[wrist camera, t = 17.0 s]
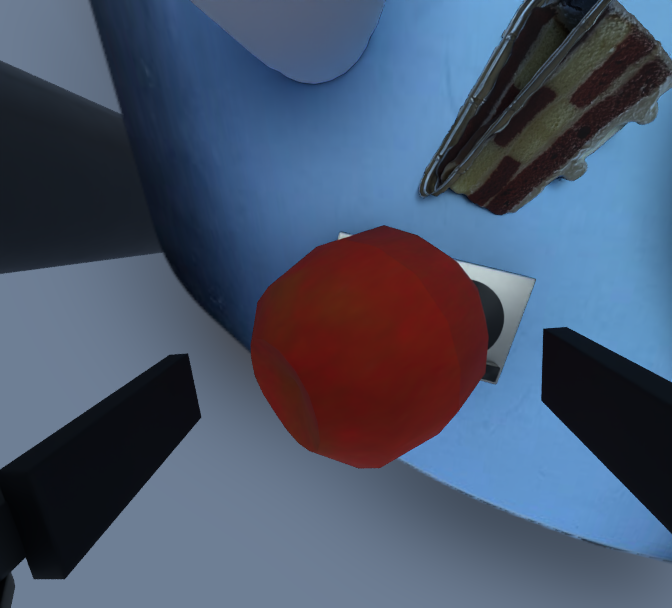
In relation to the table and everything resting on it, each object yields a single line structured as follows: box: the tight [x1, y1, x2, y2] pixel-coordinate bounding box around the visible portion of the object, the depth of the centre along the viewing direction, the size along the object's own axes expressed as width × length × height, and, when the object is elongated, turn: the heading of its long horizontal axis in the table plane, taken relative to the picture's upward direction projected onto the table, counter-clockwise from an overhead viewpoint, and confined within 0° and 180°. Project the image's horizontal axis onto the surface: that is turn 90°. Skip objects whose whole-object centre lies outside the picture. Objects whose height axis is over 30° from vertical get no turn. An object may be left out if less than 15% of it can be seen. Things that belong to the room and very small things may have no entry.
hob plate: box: [338, 232, 536, 384], centre depth 22 cm, size 12×7×2 cm, turn 77°
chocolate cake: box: [419, 0, 672, 215], centre depth 18 cm, size 10×7×12 cm
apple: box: [251, 225, 489, 468], centre depth 17 cm, size 10×10×12 cm
